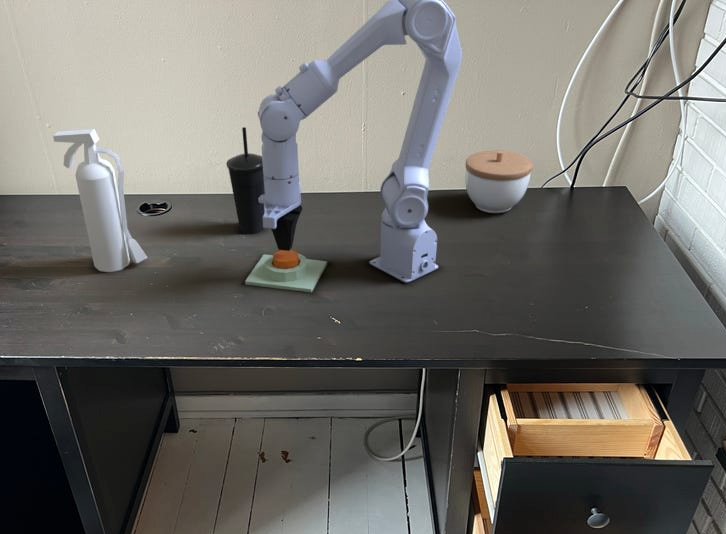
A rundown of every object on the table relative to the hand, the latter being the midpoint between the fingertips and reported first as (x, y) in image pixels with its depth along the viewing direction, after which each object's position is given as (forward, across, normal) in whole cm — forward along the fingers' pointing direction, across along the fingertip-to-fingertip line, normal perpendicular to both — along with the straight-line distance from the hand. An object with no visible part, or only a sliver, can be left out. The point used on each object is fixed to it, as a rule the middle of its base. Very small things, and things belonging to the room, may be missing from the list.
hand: (285, 248), depth 126 cm
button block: (+5, 0, 0) cm, 5 cm away
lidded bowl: (+5, -36, +32) cm, 49 cm away
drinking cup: (+5, -16, -12) cm, 21 cm away
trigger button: (+3, 0, 0) cm, 3 cm away
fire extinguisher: (+5, +3, -32) cm, 32 cm away
